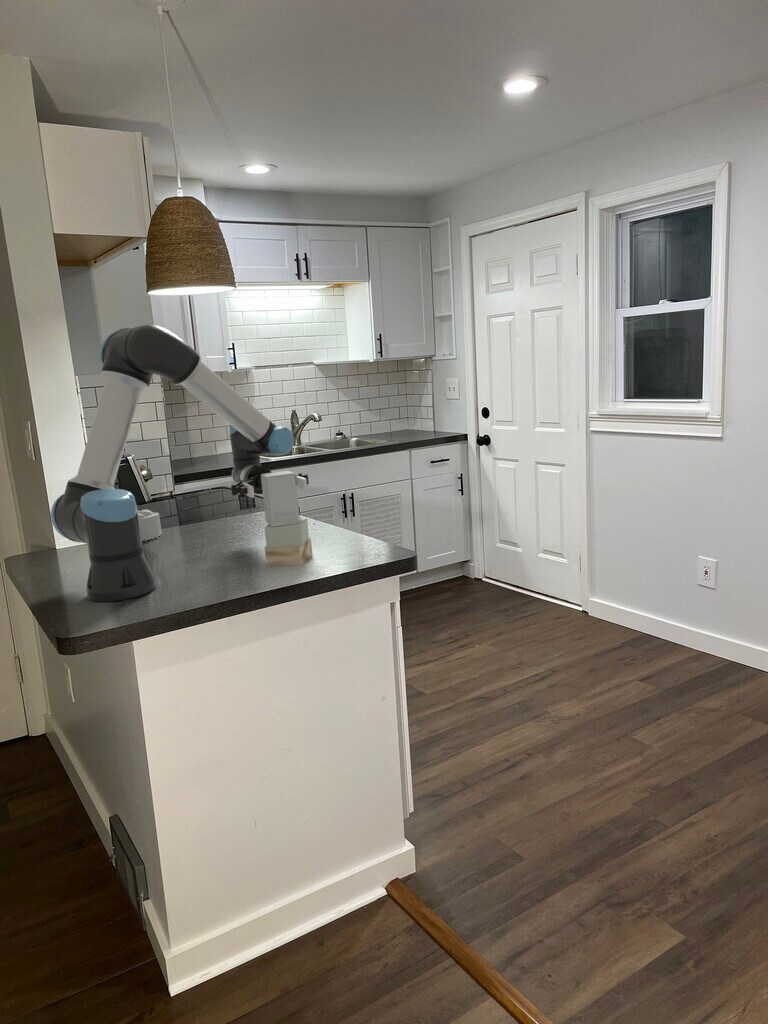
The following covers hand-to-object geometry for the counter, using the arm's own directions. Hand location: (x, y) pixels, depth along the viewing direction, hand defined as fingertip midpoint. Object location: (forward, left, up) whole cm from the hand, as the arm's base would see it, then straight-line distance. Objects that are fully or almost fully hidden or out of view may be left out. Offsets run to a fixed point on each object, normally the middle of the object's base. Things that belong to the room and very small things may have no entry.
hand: (279, 488), depth 187 cm
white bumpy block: (+32, +58, -19) cm, 69 cm away
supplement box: (+1, +1, -9) cm, 9 cm away
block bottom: (+1, 0, -19) cm, 19 cm away
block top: (+1, 0, -14) cm, 14 cm away
